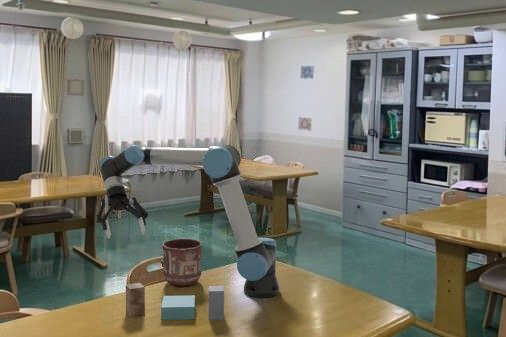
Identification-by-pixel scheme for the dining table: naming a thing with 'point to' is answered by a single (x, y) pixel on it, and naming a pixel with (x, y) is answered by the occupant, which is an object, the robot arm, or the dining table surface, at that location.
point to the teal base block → (178, 307)
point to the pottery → (182, 262)
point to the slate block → (216, 302)
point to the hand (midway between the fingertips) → (127, 234)
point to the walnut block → (135, 300)
